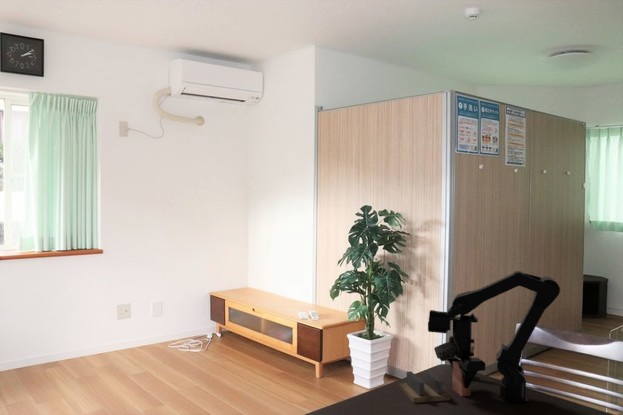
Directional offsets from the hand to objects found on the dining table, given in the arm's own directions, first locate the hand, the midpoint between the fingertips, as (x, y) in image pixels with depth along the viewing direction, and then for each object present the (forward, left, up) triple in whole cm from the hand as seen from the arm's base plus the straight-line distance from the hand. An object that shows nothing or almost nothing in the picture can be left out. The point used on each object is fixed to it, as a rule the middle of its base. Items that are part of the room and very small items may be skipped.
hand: (461, 384), depth 162 cm
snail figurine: (-8, -13, -3) cm, 16 cm away
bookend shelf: (+12, -1, -2) cm, 12 cm away
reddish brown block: (0, 0, -2) cm, 2 cm away
